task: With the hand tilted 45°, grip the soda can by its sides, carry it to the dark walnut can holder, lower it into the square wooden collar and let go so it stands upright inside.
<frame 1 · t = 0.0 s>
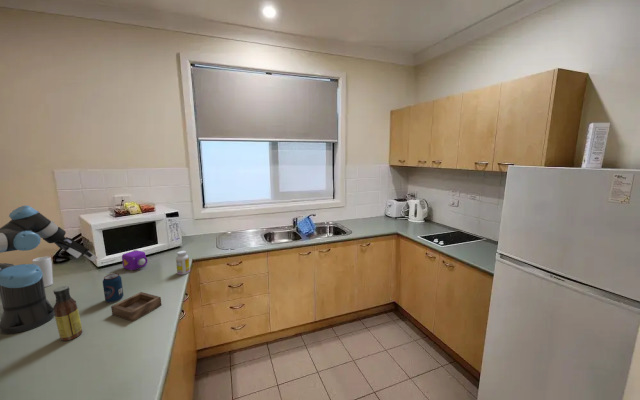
hand: (87, 257, 135), 15 cm above the worktop, tool tilted 35°, fingers open, 13 cm apart
toy camera: (137, 267, 160), on the worktop
sauce bottle: (71, 336, 98), on the worktop
soda can: (114, 299, 124), on the worktop
supplement bottle: (183, 272, 153), on the worktop
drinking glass: (46, 285, 137), on the worktop
can holder: (137, 309, 115), on the worktop
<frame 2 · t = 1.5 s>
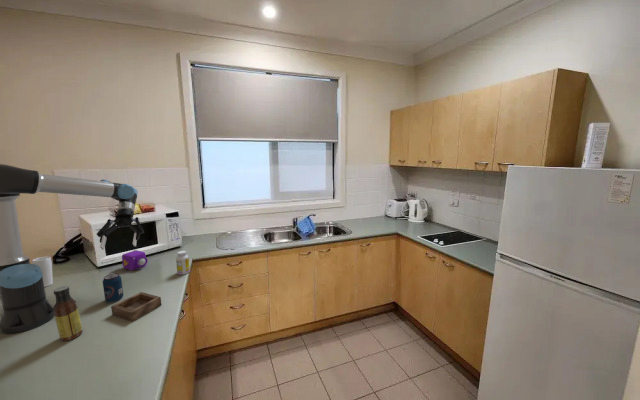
hand: (118, 246, 130), 23 cm above the worktop, tool tilted 45°, fingers open, 13 cm apart
nothing on the worktop moved.
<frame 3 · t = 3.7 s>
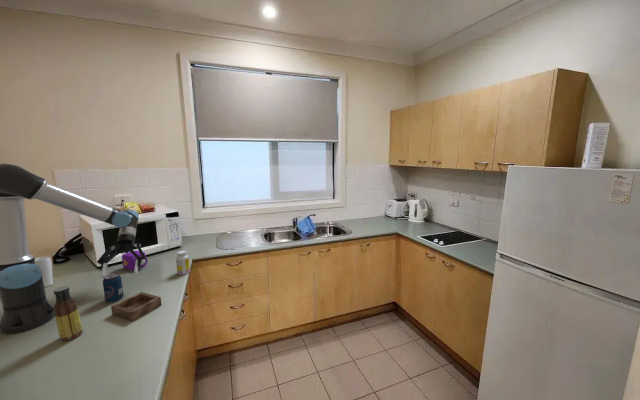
hand: (119, 274, 128), 10 cm above the worktop, tool tilted 45°, fingers open, 13 cm apart
nothing on the worktop moved.
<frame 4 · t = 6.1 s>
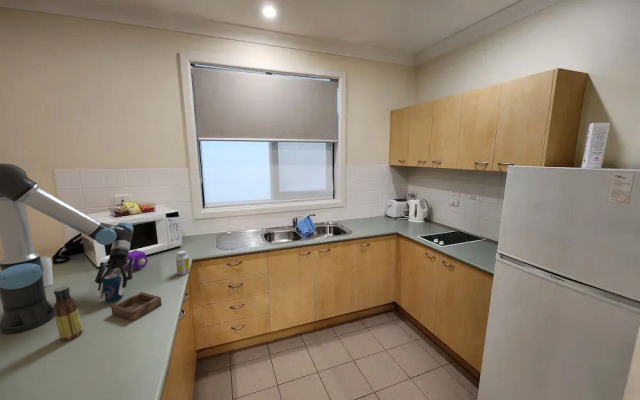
hand: (110, 295, 120), 4 cm above the worktop, tool tilted 45°, fingers closed on soda can, 7 cm apart
soda can: (114, 299, 124), on the worktop, touching gripper
everything else where it was.
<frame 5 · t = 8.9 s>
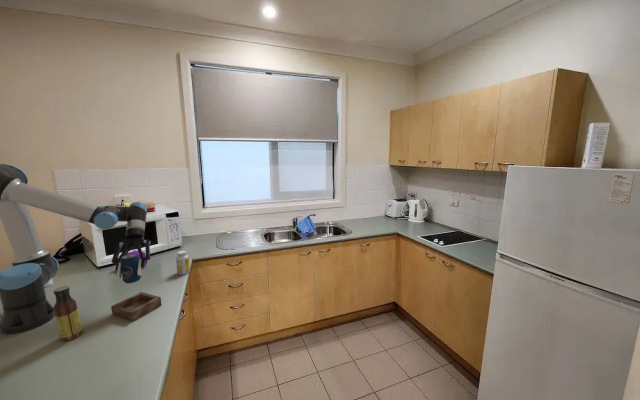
hand: (129, 276, 114), 15 cm above the worktop, tool tilted 45°, fingers closed on soda can, 7 cm apart
soda can: (132, 280, 118), point 11 cm above the worktop, touching gripper
everything else where it was.
when the fingers open (6 cm above the worktop, at t = 12.0 s): soda can drops 1 cm, resting on can holder.
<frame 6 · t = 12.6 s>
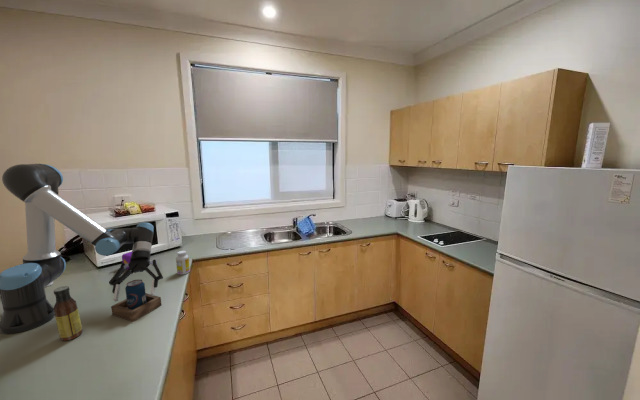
hand: (134, 297, 112), 7 cm above the worktop, tool tilted 45°, fingers open, 13 cm apart
soda can: (137, 307, 115), point 1 cm above the worktop, touching can holder
everything else where it was.
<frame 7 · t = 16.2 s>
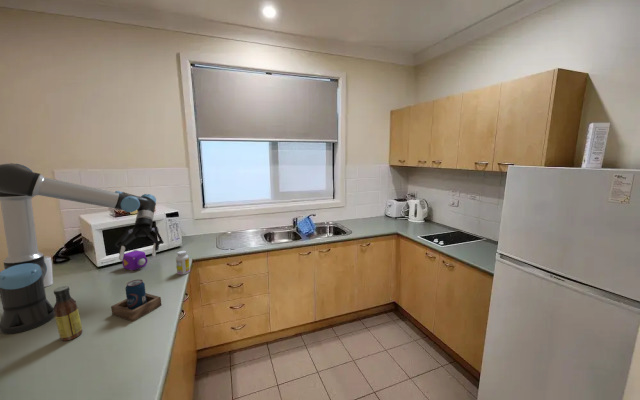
hand: (137, 258, 125), 19 cm above the worktop, tool tilted 45°, fingers open, 13 cm apart
nothing on the worktop moved.
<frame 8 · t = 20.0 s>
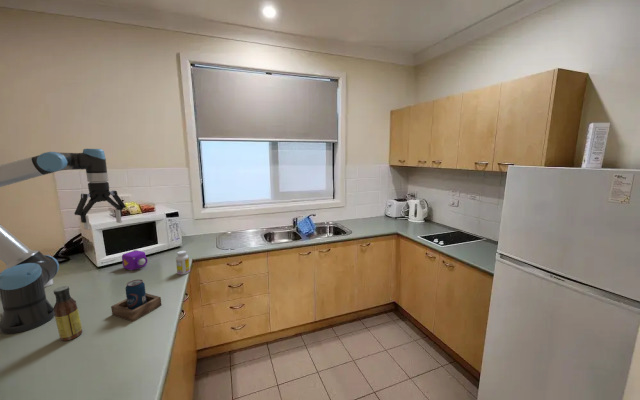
hand: (104, 225, 125), 35 cm above the worktop, tool pointing down, fingers open, 13 cm apart
nothing on the worktop moved.
at the end: soda can 0.2 cm off-centre on the can holder, point 0.8 cm above the can holder's base; soda can tilted 0°; the gripper is holding nothing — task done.
